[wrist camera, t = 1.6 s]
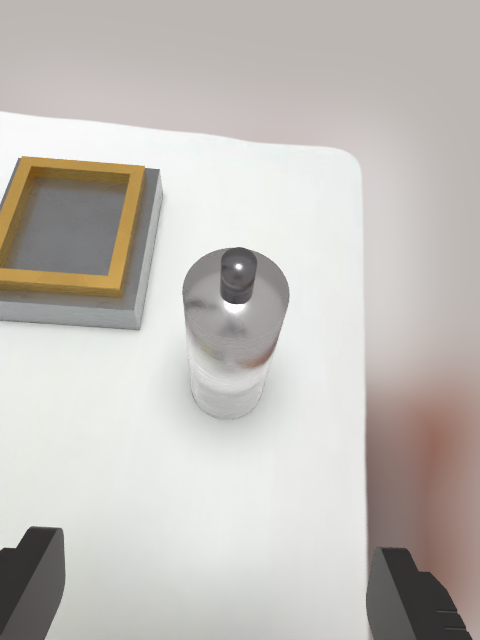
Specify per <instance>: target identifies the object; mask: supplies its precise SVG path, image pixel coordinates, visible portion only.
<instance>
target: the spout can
mask: <svg viewBox="0 0 480 640" xmlns="http://www.w3.org/2000/svg"><path fill="white" fill-rule="evenodd" d="M183 303H184V314H185V324H186V335H187V345H188V356H189V366H190V377H191V387H192V394H193V397H194V399H195V401H196V403H197V404H198V406H199V407H200V408H201V409H202V410H203V411H204V412H205V413H207V414H208V415H210V416H212V417H215V418H218V419H224V420H230V419H236V418H239V417H242V416H244V415H246V414H247V413H249V412H250V411H251V410H252V409H253V408H254V407H255V406H256V405H257V403H258V401H259V399H260V397H261V394H262V390H263V387H264V384H265V380H266V377H267V374H268V370H269V367H270V364H271V360H272V357H273V354H274V350H275V347H276V344H277V340H278V337H279V334H280V330H281V327H282V324H283V320H284V317H285V314H286V310H287V307H288V303H289V287H288V283H287V280H286V278H285V276H284V274H283V272H282V271H281V270H280V268H279V267H278V266H277V265H276V264H275V263H274V262H273V261H271V260H270V259H269V258H267V257H266V256H264V255H262V254H260V253H258V252H255V251H252V250H248V249H245V248H241V247H236V248H225V249H220V250H217V251H214V252H211V253H209V254H207V255H205V256H203V257H202V258H200V259H199V260H198V261H197V262H196V263H195V264H194V265H193V266H192V267H191V268H190V270H189V271H188V273H187V275H186V277H185V280H184V284H183Z"/></svg>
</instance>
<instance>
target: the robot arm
mask: <svg viewBox="0 0 480 640" xmlns="http://www.w3.org/2000/svg"><path fill="white" fill-rule="evenodd" d="M64 585H65V557H64V535H63V530H62V529H61V528H52V527H34V526H32V527H30V528H29V529H28V530H27V531H26V533H25V535H24V536H23V538H22V539H21V541H20V543H19V544H18V546H17V548H3V549H2V550H1V551H0V640H44V639H45V637H46V635H47V632H48V630H49V628H50V625H51V623H52V621H53V618H54V616H55V614H56V611H57V609H58V607H59V604H60V602H61V599H62V595H63V591H64ZM366 609H367V616H368V621H369V625H370V628H371V631H372V634H373V638H374V640H472V638H471V636H470V634H469V632H467V631H466V626H465V624H464V622H463V620H462V618H461V616H460V615H459V614H458V613H457V609H456V607H455V605H454V603H453V601H452V599H451V597H450V595H449V593H448V591H447V590H446V589H445V588H444V587H443V586H442V585H441V583H440V582H439V581H438V580H437V579H436V578H435V577H434V576H433V575H432V574H431V573H430V572H419V571H418V569H417V567H416V565H415V563H414V561H413V559H412V556H411V554H410V552H409V551H408V550H407V549H406V548H393V547H376V548H375V551H374V554H373V560H372V565H371V571H370V576H369V582H368V587H367V593H366Z"/></svg>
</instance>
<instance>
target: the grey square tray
mask: <svg viewBox="0 0 480 640" xmlns="http://www.w3.org/2000/svg"><path fill="white" fill-rule="evenodd" d="M162 196H163V192H162V184H161V176H160V169H149V168H145V166H138V165H126V164H113V163H101V162H88V161H75V160H63V159H50V158H38V157H25V156H22V158H18V161H17V163H16V166H15V168H14V171H13V173H12V176H11V179H10V181H9V184H8V186H7V189H6V191H5V194H4V196H3V199H2V202H1V204H0V320H5V321H19V322H34V323H48V324H63V325H77V326H92V327H106V328H121V329H135V330H140V325H141V319H142V313H143V307H144V301H145V295H146V290H147V284H148V278H149V272H150V266H151V260H152V254H153V249H154V243H155V237H156V231H157V225H158V219H159V213H160V208H161V202H162Z"/></svg>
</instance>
